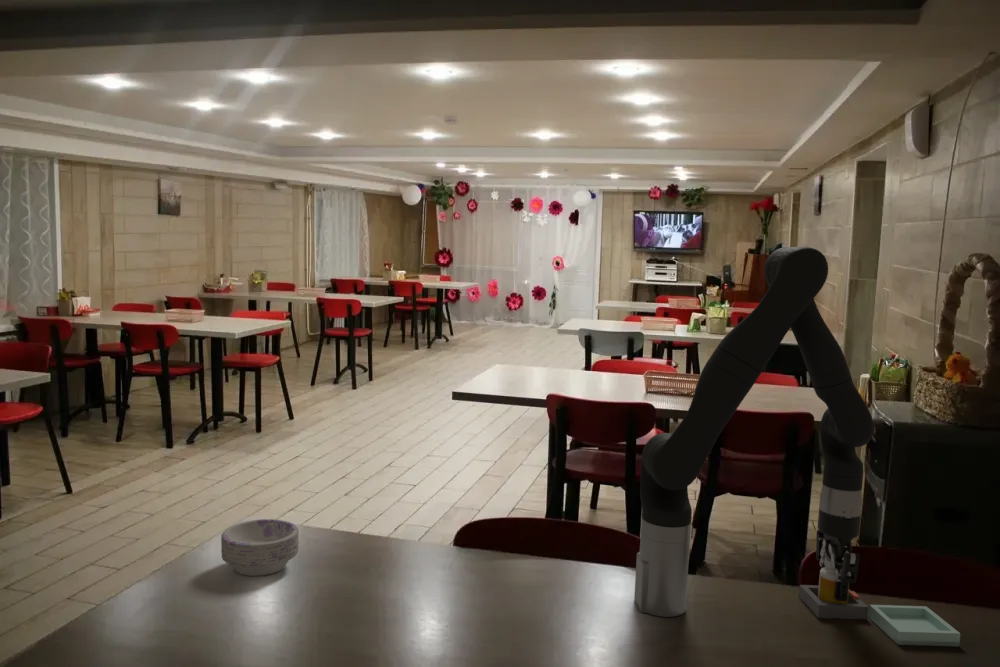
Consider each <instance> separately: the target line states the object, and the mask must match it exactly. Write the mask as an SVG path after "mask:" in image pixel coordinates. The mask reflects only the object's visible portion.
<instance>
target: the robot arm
mask: <svg viewBox="0 0 1000 667" xmlns="http://www.w3.org/2000/svg"><path fill="white" fill-rule="evenodd" d="M765 260H766V261H765V263H764V266H763V275H764V276H763V277H764V279H765V281H766V284H767V285H768V289H767V291H766V292H765V294H764V295H763V297H762V299H761V300H760V301H759V303H758V304H757V306H756V307H755V308H754V309H753V310H752V311H751V312H750V313H749V314H748V315H747V316H746V317H744V318H743V319H742V320H741V321H740V322H739V323H738V324H737V325H735V326H734V327H733V328H732V329H731V330H730V331H729V332H728V333H727V334H726V335H725V336H724V337H723V338H722V340H721V341H720V343H718V345H717V346H716V347H715V349H714V350H713V352H712V354H711V355H710V356H709V358H708V360H707V361H706V363H705V365H704V367H703V368H702V370H701V372H700V375H699V378H698V380H697V384H696V387H695V390H694V393H693V396H692V400H691V403H690V405H689V408H688V410H687V412H686V413H685V416H684V417H683V418H682V420H681V421H680V423H679V424H678V425H677V427H676V428H675V430H674V432H673V433H670V432H662V433H658V434H655V435H653V436H652V437H650V439H648V440H647V442H646V443H645V445H644V447H643V449H642V453H641V460H640V461H641V462H640V479H639V480H640V483H639V484H640V486H639V490H640V491H639V495H640V496H639V497H640V499H639V500H640V504H641V524H640V525H641V526H640V537H639V538H640V540H639V541H640V543H639V551H637V553H636V563H635V564H636V565H635V581H634V583H635V584H634V596H633V597H634V601H635V603H636V607H637V609H638V611H639V613H642V614H644V613H645V614H649V615H652V616H656V617H664V618H672V617H678V616H681V615H683V614H685V612H686V605H687V592H688V576H689V575H688V574H689V562H690V560H689V559H690V547H691V545H690V543H691V532H692V531H691V530H692V514H693V512H692V506H691V503H690V499H689V492H688V488H689V487H688V486H690V485H691V484H693V482H694V481H695V480H697V477H698V476H699V474H700V472H701V471H702V469H703V467H704V464H705V463H706V461H707V459H708V457H709V456H710V453H711V452H712V449H713V447H714V445H715V443H716V442H717V440H718V438H719V436H720V434H721V433H722V432H723V430H724V428H725V427H726V425H727V424H728V423H729V422H730V419H731V418H733V415H734V414H735V413H736V412H737V410H738V409H739V407H740V405H741V403H742V401H744V399H745V398H746V396H747V395H748V394H749V392H750V391H751V389H752V387H753V386H754V385H755V383H756V381H757V380H758V379H759V377H760V376H761V374H762V373H763V371H764V369H765V368H766V366H767V365H768V362H769V361H770V360H771V358H772V356H773V355H774V353H775V352H776V351H777V349H778V347H780V345H781V343H782V341H783V340H784V338H785V336H786V334H787V333H788V332H789V331H790V330H791V331H792V334H793V337H794V339H795V341H796V343H797V345H798V348H799V350H800V353H801V356H802V359H803V362H804V365H805V368H806V370H807V373H808V376H809V379H810V382H811V385H812V388H813V391H814V392H815V395H816V396H817V397H818V399H819V400H821V401H822V402H823V403H824V404H825V405H826V406H827V409H825V411H824V412H823V414H822V416H821V417H822V418H821V419H820V427H819V430H820V431H819V433H820V442H821V449H822V454H823V460H824V465H823V471H822V472H823V474H822V485H821V488H820V496H819V504H818V505H819V506H818V516H817V530H816V537H815V538H816V539H815V540H816V542H815V545H816V548H815V552H816V554H815V559H816V560H817V561H819V566H820V570H821V569H822V568H823V567H825V565H824V561H825V557H829V558H831V562H832V568H833V569H834V570H835V574H836V582H835V594H834V598H835V599H836V600H837V601H846V600H847V596H848V585H849V586H850V584H856V582H857V577H858V570H859V564H860V558H861V557H860V553H858V552H857V553H856V552H855V553H854V552H853V547H852V540H853V539H855V538H858V537H859V536H860V532H861V521H862V520H861V519H862V510H863V481H864V480H863V478H864V464H863V461H862V459H860V457H859V456H858V455H857V452H856V448H860V447H863V446H866V445H867V444H869V442H870V441H872V438H873V436H874V431H875V426H874V425H875V424H874V420H873V417H872V414H871V412H870V410H869V408H868V406H867V404H866V402H865V400H864V399H863V396H862V395H861V393H860V392H859V390H858V389H857V388H856V386H855V383H854V381H853V378H852V374H851V372H850V369H849V366H848V363H847V359H846V357H845V355H844V353H843V350H842V348H841V346H840V344H839V343H838V341H837V339H836V338H835V336H834V335H833V333H832V331H831V330H830V328H829V327H828V325H827V324H826V322H825V320H824V318H823V317H822V315H821V313H820V310H819V309H818V306H817V304H816V301H815V297H816V296H817V295H818V294H819V292H820V291H822V290H821V289H822V288H823V287H824V286H825V284H826V281H827V279H828V274H829V265H828V261H827V258H826V256H825V255H824V253H822V252H821V251H820V250H818V249H816V248H814V247H808V246H785V247H781V248H778V249H775V250H774V251H773V252H772V253H771V254H769V256H768V257H767V258H766V259H765ZM837 563H843V564H842V565H839V564H837ZM840 569H842V571H841V574H840Z"/></svg>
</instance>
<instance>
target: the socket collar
mask: <svg viewBox="0 0 1000 667" xmlns="http://www.w3.org/2000/svg"><path fill="white" fill-rule="evenodd" d="M818 588H819V584H818V585H816V584H815V585H814V584H813V585H812V584H799V588H798V589H799V590H798V599H800V600H801V601H802V602H803V603H804V604H805V605H806V607H809V610H810V611H811V612H812V613H813V614H814V616H815V617H816V618H817V619H834V618H836V619H838V618H839V619H840V620H841V619H842V620H868V616H869V605H867V603H865V602H864V601H863V600H862V599H860V595H859V594H858V593H856V592H855V591H854V590H851V589H849V591H848V603H822V601H821V600H820V599H819V598H818ZM836 619H835V620H836ZM839 619H838V620H839Z"/></svg>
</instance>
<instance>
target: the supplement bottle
mask: <svg viewBox="0 0 1000 667" xmlns="http://www.w3.org/2000/svg"><path fill="white" fill-rule="evenodd" d="M837 564H839V565H842V564H843V563H837ZM824 565H825V567H823V568H822V569H821V568H820V569H819V577H818V578H819V579H818V585H819V588H818V598H819V599H820V600H821V601H822V603H848V596H847V600H846V601H837V600H836V599H835V598H834V594H835V582H836V574H835V570H834V569H833V568H832V562H831V558H829V557H825V561H824ZM841 571H842V569H840V574H841ZM849 590H850V584H849V585H848V591H849Z"/></svg>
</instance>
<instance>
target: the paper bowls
mask: <svg viewBox="0 0 1000 667" xmlns="http://www.w3.org/2000/svg"><path fill="white" fill-rule="evenodd" d="M220 537H221V538H220V542H221V545H220V546H221V559H222V561H224V562H225V564H228V565H231V566H232V568H233V569H234V571H235V572H237V573H238V574H241V575H243V576H248V577H258V576H259V577H263V576H269V575H272V574H276V573H278V572H279V571H282V570H283V569H284V568H285V567H286V566H287V564H288V562H289V561H290V560H292V559H293V558H294V557H296V556H297V555H298V553H299V547H300V546H299V543H300V542H299V541H300V540H299V528H298V527H297V525H296V524H295V523H292V522H290V521H287V520H281V519H272V518H271V519H269V518H268V519H267V518H266V519H264V518H262V519H253V520H247V521H242V522H239V523H235V524H233V525H231V526H229V527H227V528H226V529H225V530H224V531H223V532H222V533H221V536H220Z"/></svg>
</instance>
